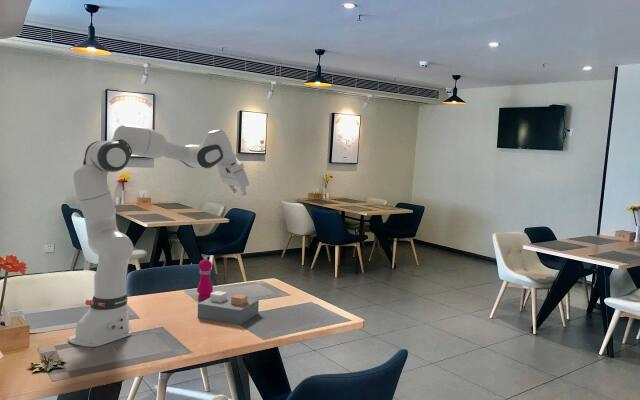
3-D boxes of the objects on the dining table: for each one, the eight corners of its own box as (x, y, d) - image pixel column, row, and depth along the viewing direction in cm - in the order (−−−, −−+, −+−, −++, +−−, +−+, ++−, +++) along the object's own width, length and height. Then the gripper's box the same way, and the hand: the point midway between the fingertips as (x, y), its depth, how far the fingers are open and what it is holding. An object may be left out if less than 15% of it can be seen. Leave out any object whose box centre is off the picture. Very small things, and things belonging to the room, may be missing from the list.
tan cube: (241, 310, 212) (241, 298, 212) (230, 308, 214) (231, 297, 213) (247, 307, 217) (247, 295, 216) (236, 305, 219) (237, 293, 218)
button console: (240, 324, 207) (240, 310, 206) (197, 317, 213) (197, 303, 213) (258, 313, 222) (258, 299, 221) (218, 306, 228) (218, 293, 228)
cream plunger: (220, 307, 216) (220, 295, 215) (210, 305, 217) (210, 293, 217) (226, 303, 220) (226, 292, 220) (216, 302, 222) (216, 290, 222)
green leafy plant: (25, 363, 165) (25, 350, 164) (66, 357, 171) (66, 344, 171) (26, 378, 155) (25, 364, 154) (70, 371, 161) (69, 357, 160)
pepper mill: (210, 301, 236) (211, 258, 234) (195, 300, 236) (195, 258, 234) (214, 296, 244) (214, 255, 242) (199, 296, 244) (199, 254, 242)
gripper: (211, 166, 227) (223, 193, 232) (232, 170, 211) (244, 200, 216) (224, 160, 230) (235, 187, 235) (245, 164, 214) (256, 193, 219)
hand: (239, 193), depth 225 cm, fingers open, 8 cm apart
